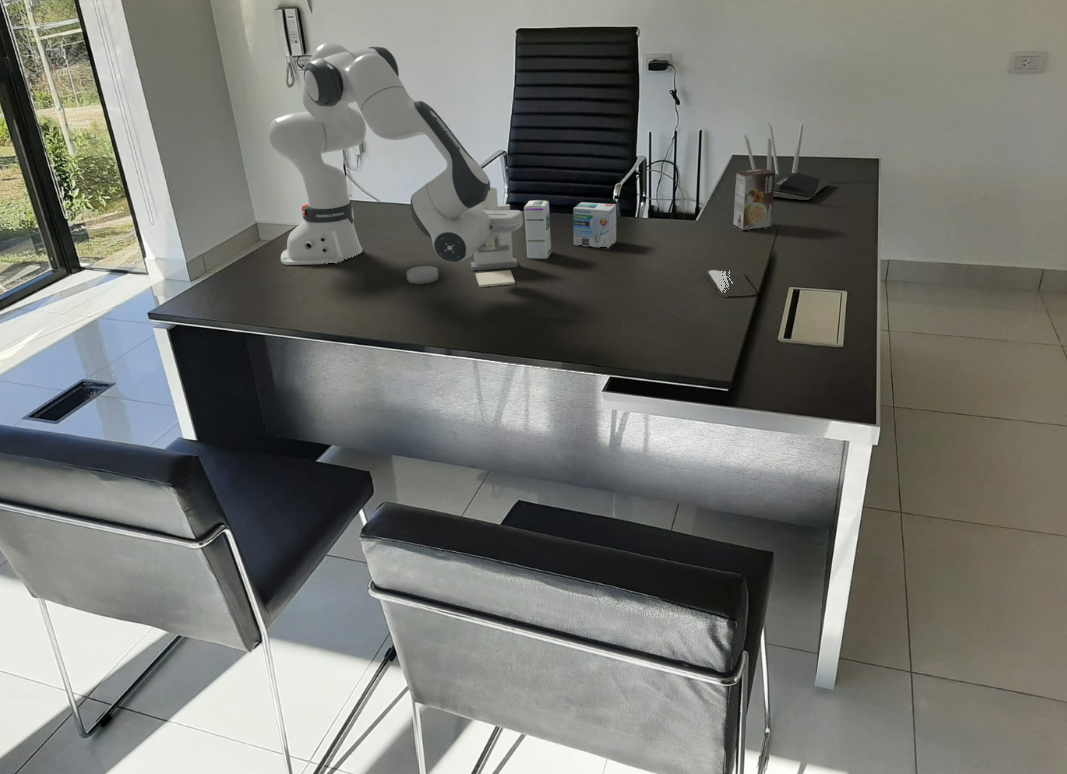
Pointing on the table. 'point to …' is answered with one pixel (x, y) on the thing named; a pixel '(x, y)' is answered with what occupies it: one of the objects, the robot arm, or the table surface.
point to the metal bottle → (490, 204)
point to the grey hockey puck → (422, 274)
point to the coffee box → (754, 198)
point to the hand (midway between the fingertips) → (488, 211)
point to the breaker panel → (496, 253)
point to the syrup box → (537, 229)
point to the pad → (495, 278)
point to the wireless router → (788, 182)
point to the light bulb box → (595, 224)
